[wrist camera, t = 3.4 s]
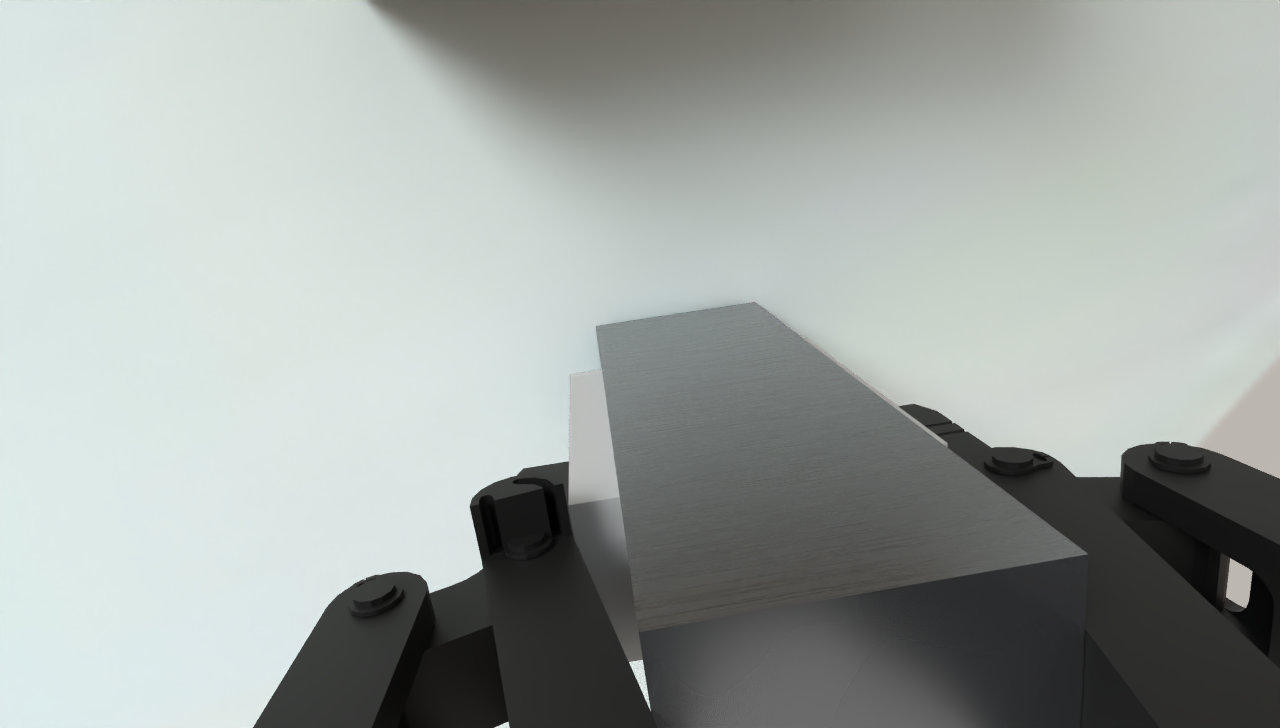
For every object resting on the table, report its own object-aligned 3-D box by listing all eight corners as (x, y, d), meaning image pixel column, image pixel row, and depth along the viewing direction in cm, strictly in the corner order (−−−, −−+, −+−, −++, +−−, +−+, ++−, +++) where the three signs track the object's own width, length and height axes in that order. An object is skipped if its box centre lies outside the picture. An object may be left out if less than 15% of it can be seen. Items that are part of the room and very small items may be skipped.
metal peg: (595, 326, 18) (638, 632, 6) (754, 302, 18) (1087, 554, 6) (618, 473, 19) (690, 969, 7) (768, 449, 19) (1073, 894, 7)
